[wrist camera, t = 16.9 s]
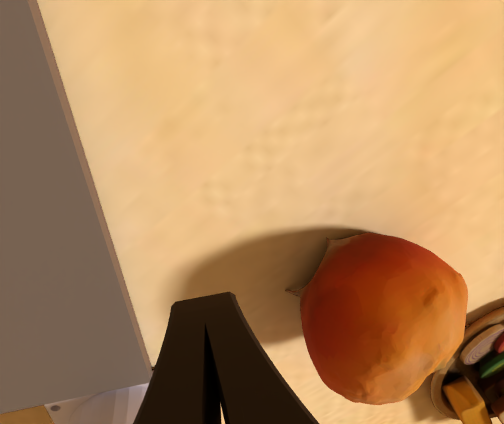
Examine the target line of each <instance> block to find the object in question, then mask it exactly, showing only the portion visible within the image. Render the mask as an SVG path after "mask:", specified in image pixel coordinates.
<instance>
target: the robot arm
mask: <svg viewBox="0 0 504 424" xmlns="http://www.w3.org/2000/svg"><path fill="white" fill-rule="evenodd" d="M220 403H221V406H220ZM44 406H45V408H46V410H47V412H48V413H49V415H50V417H51V419H52V420H53V422H54V424H221V407H222V411H223V416H224V420H225V424H319V423H318V421H317V420H316V419H315V418H314V417H313V415H312V414H311V413H310V412H309V411H308V409H307V408H306V407H305V406H304V404H303V403H302V402H301V401H300V399H299V398H298V397H297V395H296V394H295V393H294V391H293V390H292V389H291V388H290V386H289V385H288V384H287V382H286V381H285V380H284V378H283V377H282V375H281V374H280V373H279V371H278V370H277V368H276V367H275V366H274V364H273V363H272V361H271V360H270V358H269V357H268V355H267V354H266V352H265V351H264V349H263V348H262V346H261V345H260V343H259V341H258V340H257V338H256V337H255V335H254V333H253V332H252V330H251V328H250V326H249V325H248V323H247V321H246V319H245V317H244V315H243V313H242V311H241V309H240V307H239V305H238V302H237V300H236V297H235V295H234V294H232V293H231V292H226V293H220V294H215V295H210V296H204V297H199V298H194V299H188V300H183V301H177V302H175V303H174V304H173V305H172V307H171V312H170V317H169V322H168V326H167V330H166V334H165V337H164V341H163V344H162V347H161V351H160V354H159V357H158V360H157V363H156V365H155V368H154V371H152V373H151V380H150V382H149V383H146V384H141V385H136V386H131V387H127V388H122V389H117V390H112V391H107V392H103V393H98V394H93V395H88V396H84V397H79V398H74V399H69V400H65V401H60V402H55V403H50V404H45V405H44Z"/></svg>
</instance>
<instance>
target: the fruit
mask: <svg viewBox="0 0 504 424" xmlns="http://www.w3.org/2000/svg"><path fill="white" fill-rule="evenodd" d="M326 238H327V237H326ZM327 243H328V246H327V251H326V253H325V255H324V257H323V260H322V262H321V264H320V266H319V268H318V270H317V272H316V273H315V275H314V277H313V278H312V280H311V281H310V282H309V283H308V284H307V285H306V286H305V287H303V288H302V289H300V290H298V291H290V290H285V291H287V292H289V293H292V294H294V295H297V296H299V297H300V311H301V320H302V329H303V334H304V338H305V342H306V346H307V349H308V352H309V355H310V357H311V359H312V362H313V364H314V366H315V368H316V370H317V372H318V374H319V376H320V378H321V379H322V381H323V382H324V383H325V384H326V385H327V386H328V387H329V388H330V389H331V390H333V391H334V392H336V393H338V394H340V395H342V396H343V397H345V398H346V399H348V400H350V401H352V402H355V403H358V402H360V403H365V404H372V405H382V404H387V403H395V402H400V401H402V400H404V399H406V398H407V397H408V396H410V395H411V394H412V393H413V392H415V391H416V390H417V389H418V388H419V387H420V385H421V384H422V383H423V381H424V380H425V378H426V377H427V376H429V375H430V374H431V373H433V372H435V371H436V370H439V369H443V368H445V367H446V364H447V362H448V361H449V360H450V359H451V357H452V356H453V354H454V353H455V351H456V350H457V349H458V347H459V345H460V344H461V343H462V341H463V339H464V330H465V322H466V310H467V301H468V290H467V286H466V283H465V281H464V279H463V277H462V275H461V274H459V273H458V272H456V271H455V270H454V269H453V268H452V267H451V266H449V265H448V264H447V263H446V262H444V261H443V260H442V259H440V258H439V257H438V256H436V255H435V254H434V253H432V252H431V251H429V250H427V249H425V248H423V247H421V246H419V245H417V244H414V243H412V242H409V241H407V240H404V239H401V238H398V237H394V236H387V235H381V234H376V233H371V232H369V233H364V234H360V235H355V236H352V237H348V238H344V239H339V240H329V239H328V238H327Z"/></svg>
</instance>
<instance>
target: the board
mask: <svg viewBox="0 0 504 424" xmlns="http://www.w3.org/2000/svg"><path fill="white" fill-rule="evenodd" d="M151 373H152V367H151V364H150V360H149V357H148V354H147V351H146V348H145V344H144V341H143V338H142V335H141V332H140V328H139V325H138V322H137V319H136V316H135V313H134V309H133V306H132V303H131V300H130V297H129V293H128V290H127V287H126V284H125V281H124V277H123V274H122V271H121V268H120V265H119V261H118V258H117V255H116V252H115V249H114V246H113V242H112V239H111V236H110V233H109V230H108V226H107V223H106V220H105V217H104V214H103V210H102V207H101V204H100V201H99V198H98V194H97V191H96V188H95V185H94V182H93V178H92V175H91V172H90V169H89V166H88V163H87V159H86V156H85V153H84V150H83V147H82V143H81V140H80V137H79V134H78V131H77V127H76V124H75V121H74V118H73V115H72V111H71V108H70V105H69V102H68V99H67V96H66V92H65V89H64V86H63V83H62V80H61V76H60V73H59V70H58V67H57V64H56V60H55V57H54V54H53V51H52V48H51V44H50V41H49V38H48V35H47V32H46V28H45V25H44V22H43V19H42V16H41V13H40V9H39V6H38V3H37V0H0V414H2V413H7V412H12V411H17V410H22V409H26V408H31V407H36V406H41V405H45V404H50V403H55V402H60V401H65V400H69V399H74V398H79V397H84V396H88V395H93V394H98V393H103V392H107V391H112V390H117V389H122V388H127V387H131V386H136V385H141V384H146V383H149V382H150V380H151Z"/></svg>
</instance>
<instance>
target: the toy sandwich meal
mask: <svg viewBox="0 0 504 424" xmlns="http://www.w3.org/2000/svg"><path fill="white" fill-rule="evenodd" d="M431 399H432V402H433V404H434V406H435V408H436V409H437V410H438V411H439V412H440V413H442V414H443V415H445V416H447V417H450V418H453V419H457V420H461V421H462V423H463V424H492V421H491V419H490V418H493V417H498V419H499V420H500V421H501V423H502V424H504V306H503V307H501V308H498V309H496V310H494V311H492V312H490V313H488V314H487V315H485V316H483V317H482V318H480V319H478V320H477V321H475V322H474V323H473V324H471V325H470V326H469V327H467V328H466V329H465V330H464V339H463V341H462V343H461V344H460V345H459V347H458V349H457V350H456V351H455V353H454V354H453V356H452V357H451V359H450V360H449V361H448V362H447V364H446V367H445V368H443V369H439V370H436V371H435V372H434V375H433V378H432V382H431Z"/></svg>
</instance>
